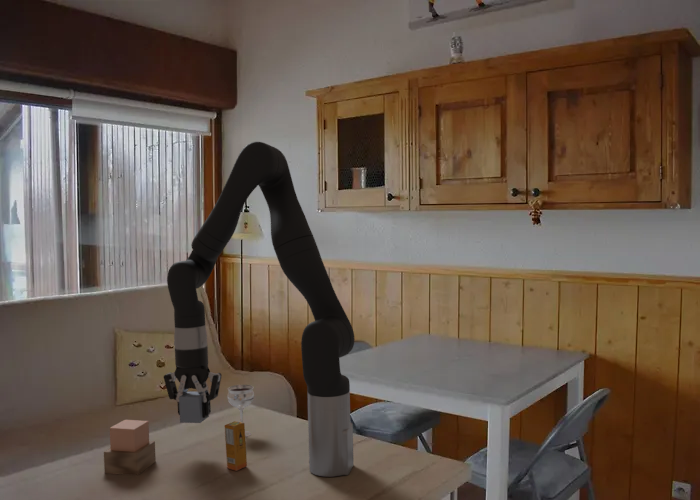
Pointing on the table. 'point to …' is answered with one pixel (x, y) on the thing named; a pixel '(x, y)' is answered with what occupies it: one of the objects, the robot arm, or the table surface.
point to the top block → (129, 435)
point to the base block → (129, 460)
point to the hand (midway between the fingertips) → (194, 416)
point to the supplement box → (235, 445)
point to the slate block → (191, 408)
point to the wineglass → (241, 399)
